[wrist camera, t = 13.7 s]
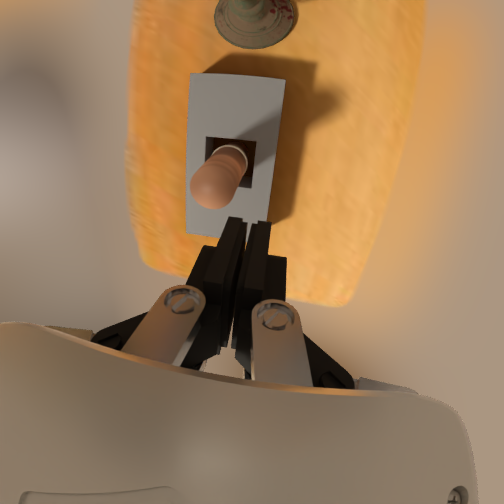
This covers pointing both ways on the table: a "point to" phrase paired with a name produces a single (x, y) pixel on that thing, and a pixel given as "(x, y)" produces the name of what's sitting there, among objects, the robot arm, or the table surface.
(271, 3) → the candlestick holder
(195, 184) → the dowel
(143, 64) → the table surface
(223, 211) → the seat board
